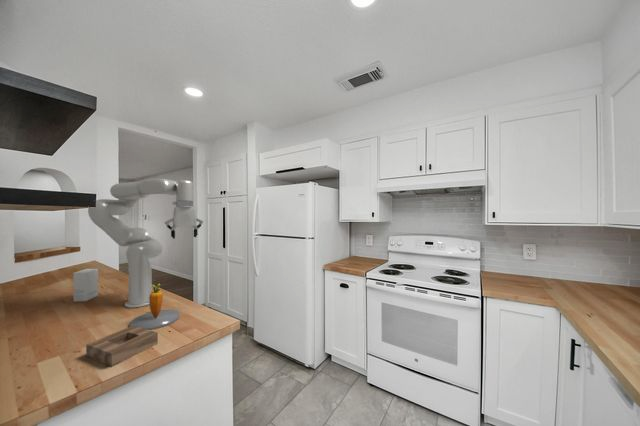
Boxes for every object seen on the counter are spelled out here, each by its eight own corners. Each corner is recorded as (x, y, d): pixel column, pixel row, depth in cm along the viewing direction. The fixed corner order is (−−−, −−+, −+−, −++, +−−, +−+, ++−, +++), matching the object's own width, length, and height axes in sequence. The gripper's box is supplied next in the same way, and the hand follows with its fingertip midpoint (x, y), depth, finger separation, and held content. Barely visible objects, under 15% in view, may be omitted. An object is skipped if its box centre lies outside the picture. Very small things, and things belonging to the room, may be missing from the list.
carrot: (147, 318, 104) (148, 283, 104) (160, 314, 108) (161, 281, 108) (150, 321, 101) (150, 286, 101) (164, 317, 105) (164, 283, 105)
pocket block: (86, 356, 78) (86, 344, 78) (133, 335, 91) (133, 325, 91) (111, 366, 73) (111, 353, 73) (157, 343, 86) (157, 332, 86)
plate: (119, 325, 99) (119, 323, 99) (162, 309, 116) (162, 307, 116) (148, 334, 93) (148, 331, 93) (188, 315, 109) (188, 313, 109)
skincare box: (86, 296, 134) (86, 268, 134) (99, 295, 134) (99, 268, 134) (72, 301, 125) (72, 272, 125) (86, 301, 126) (86, 272, 126)
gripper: (165, 203, 114) (165, 239, 114) (204, 204, 125) (204, 237, 125) (163, 204, 120) (163, 238, 120) (201, 204, 131) (201, 236, 131)
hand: (184, 237), depth 123 cm, fingers open, 9 cm apart
